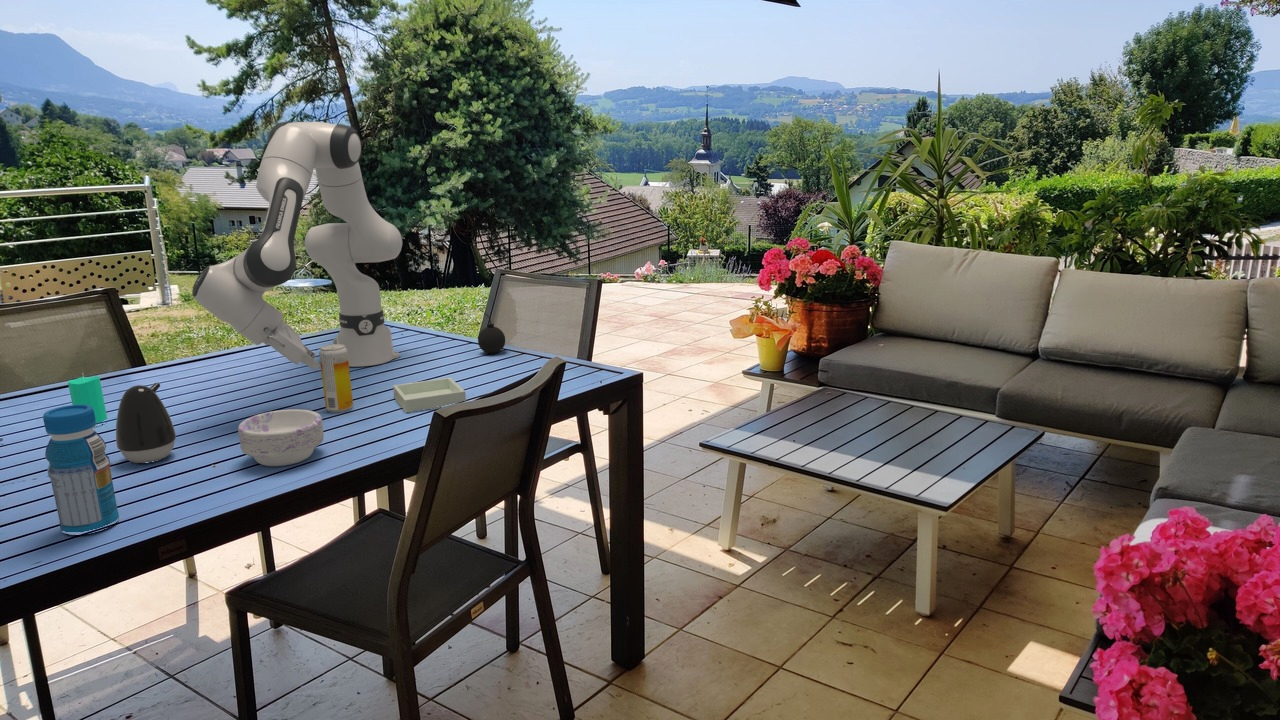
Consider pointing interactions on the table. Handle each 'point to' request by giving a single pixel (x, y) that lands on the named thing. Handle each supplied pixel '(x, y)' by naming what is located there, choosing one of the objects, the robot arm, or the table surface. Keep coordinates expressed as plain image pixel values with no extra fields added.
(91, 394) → the candle
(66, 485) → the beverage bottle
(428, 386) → the tray
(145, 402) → the pump dispenser
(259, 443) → the paper bowls
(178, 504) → the table surface
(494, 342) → the bomb
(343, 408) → the beer can
